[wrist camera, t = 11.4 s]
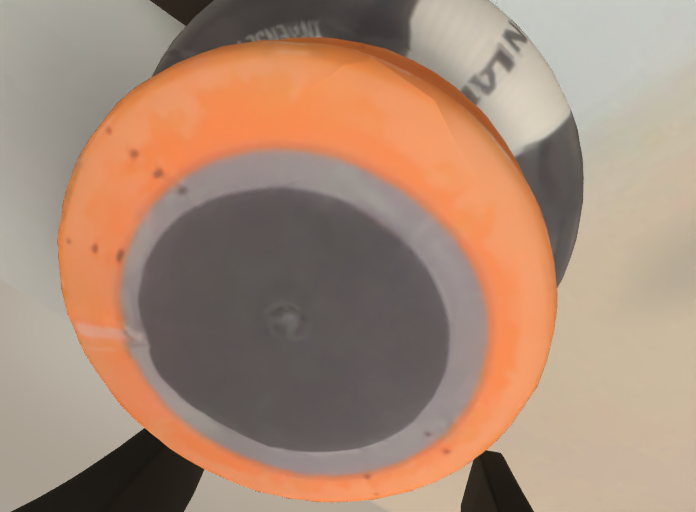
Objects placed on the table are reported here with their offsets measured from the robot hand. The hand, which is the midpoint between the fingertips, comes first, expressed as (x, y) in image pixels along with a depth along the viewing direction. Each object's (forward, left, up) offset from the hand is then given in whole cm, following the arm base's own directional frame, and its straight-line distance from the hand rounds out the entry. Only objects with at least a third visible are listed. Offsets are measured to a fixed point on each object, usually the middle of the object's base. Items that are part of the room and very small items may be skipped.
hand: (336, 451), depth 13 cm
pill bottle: (+7, +4, -5) cm, 9 cm away
